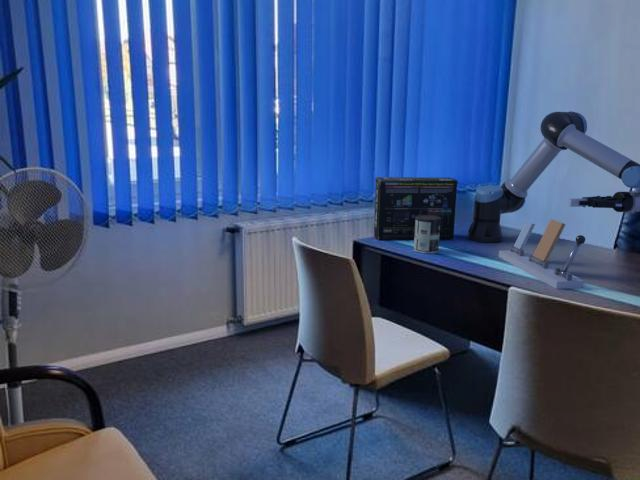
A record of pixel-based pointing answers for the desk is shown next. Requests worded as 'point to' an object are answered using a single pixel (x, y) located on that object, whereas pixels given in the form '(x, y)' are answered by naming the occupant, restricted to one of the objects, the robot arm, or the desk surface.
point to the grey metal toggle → (571, 256)
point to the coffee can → (427, 234)
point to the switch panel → (541, 270)
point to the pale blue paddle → (523, 237)
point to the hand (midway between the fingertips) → (569, 202)
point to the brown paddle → (548, 242)
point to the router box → (413, 205)
